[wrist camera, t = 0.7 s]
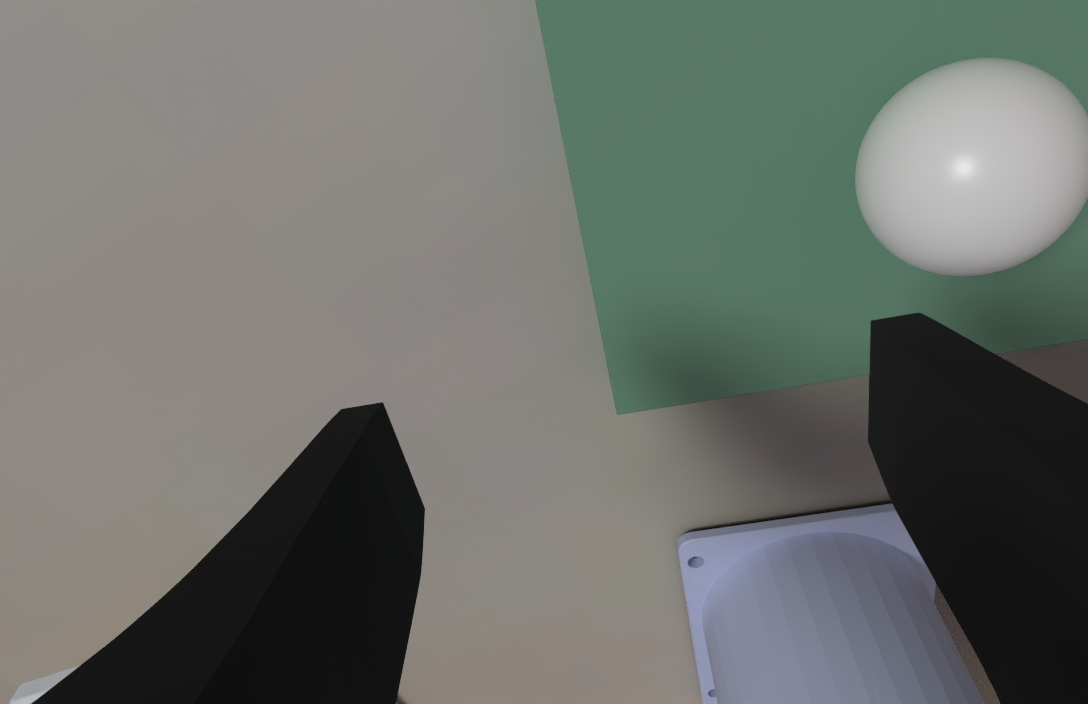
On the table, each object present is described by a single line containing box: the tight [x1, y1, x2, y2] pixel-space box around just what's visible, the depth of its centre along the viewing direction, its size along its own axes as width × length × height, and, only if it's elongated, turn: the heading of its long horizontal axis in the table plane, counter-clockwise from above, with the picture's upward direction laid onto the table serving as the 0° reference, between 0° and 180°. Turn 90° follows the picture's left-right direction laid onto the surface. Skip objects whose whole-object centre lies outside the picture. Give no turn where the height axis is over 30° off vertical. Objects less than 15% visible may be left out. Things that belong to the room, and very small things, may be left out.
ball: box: [855, 58, 1088, 276], centre depth 15 cm, size 4×4×4 cm
